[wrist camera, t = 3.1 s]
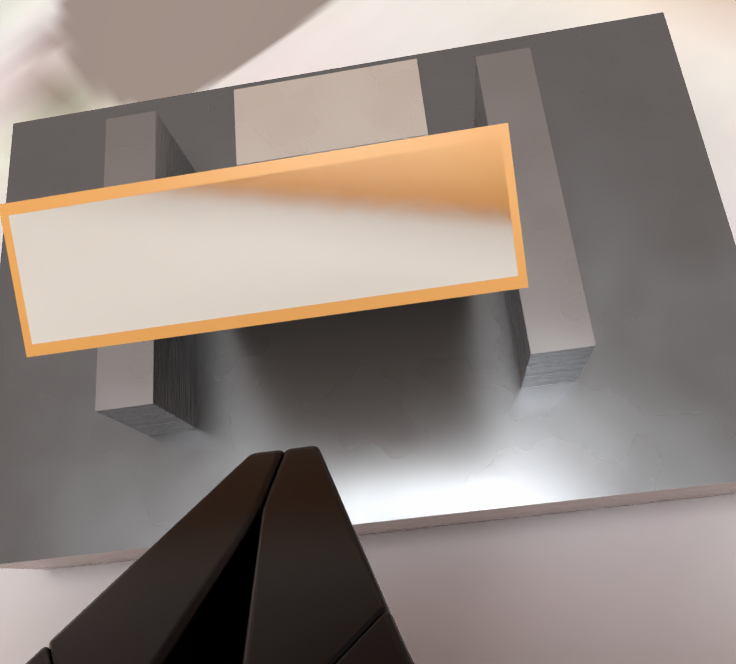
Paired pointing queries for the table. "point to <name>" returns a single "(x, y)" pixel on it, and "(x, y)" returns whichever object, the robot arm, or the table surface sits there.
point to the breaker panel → (404, 313)
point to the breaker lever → (268, 242)
